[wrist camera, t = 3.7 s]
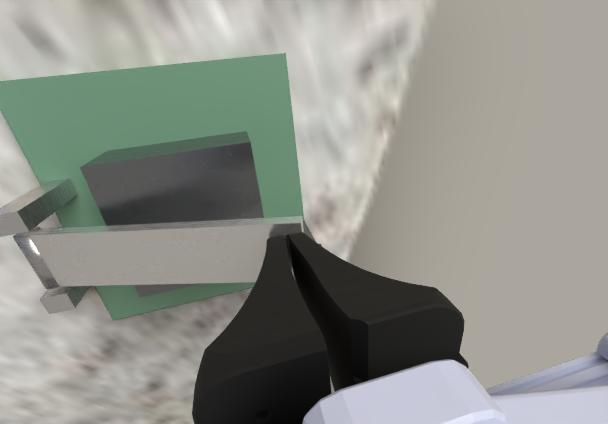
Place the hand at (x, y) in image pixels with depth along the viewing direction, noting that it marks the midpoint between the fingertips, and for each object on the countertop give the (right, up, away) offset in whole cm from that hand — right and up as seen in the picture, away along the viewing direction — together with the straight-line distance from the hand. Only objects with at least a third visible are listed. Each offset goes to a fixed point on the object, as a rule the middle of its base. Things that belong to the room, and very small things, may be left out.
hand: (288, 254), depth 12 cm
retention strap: (-6, 0, +1) cm, 6 cm away
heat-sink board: (-7, +3, +7) cm, 10 cm away
